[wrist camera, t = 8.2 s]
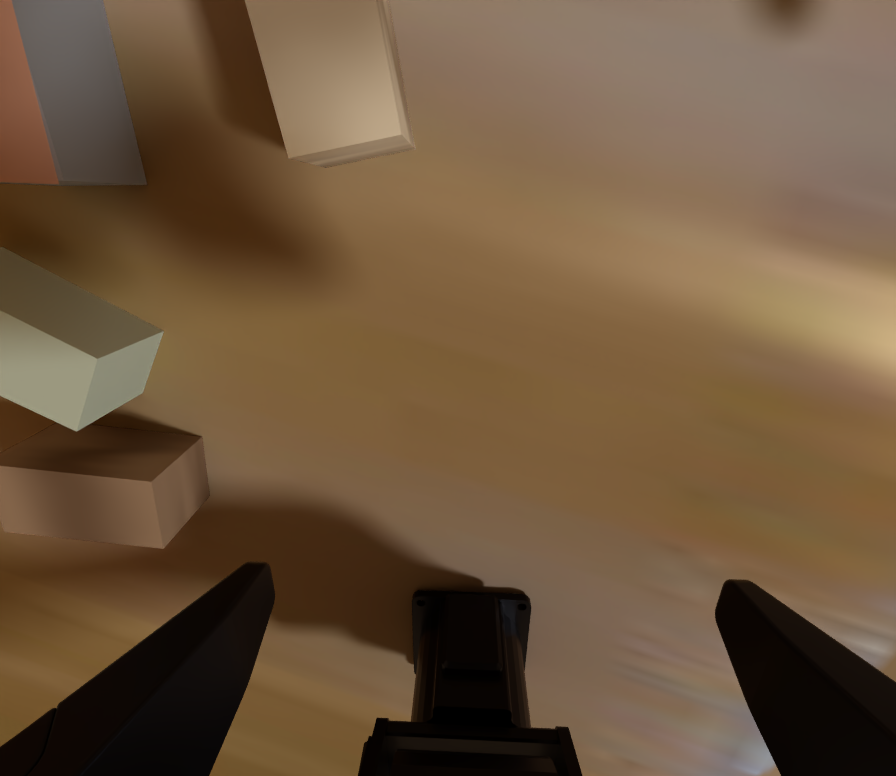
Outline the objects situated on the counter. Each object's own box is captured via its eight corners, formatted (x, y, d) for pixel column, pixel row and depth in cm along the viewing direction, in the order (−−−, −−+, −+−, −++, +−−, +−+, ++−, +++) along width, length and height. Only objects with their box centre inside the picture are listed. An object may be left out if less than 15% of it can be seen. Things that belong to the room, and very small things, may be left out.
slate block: (148, 184, 18) (64, 180, 14) (62, 185, 18) (-44, 181, 14) (93, -45, 15) (-29, -126, 11) (-8, -42, 15) (-161, -121, 11)
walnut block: (203, 434, 22) (151, 481, 18) (211, 494, 23) (163, 548, 20) (61, 419, 22) (-20, 463, 18) (77, 479, 23) (4, 531, 20)
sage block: (165, 330, 20) (97, 359, 16) (144, 391, 21) (76, 431, 18) (6, 246, 19) (-107, 257, 15) (-7, 316, 20) (-114, 342, 16)
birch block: (416, 149, 17) (401, 134, 13) (326, 167, 17) (288, 158, 14) (371, -95, 14) (338, -198, 11) (268, -67, 15) (201, -158, 11)
